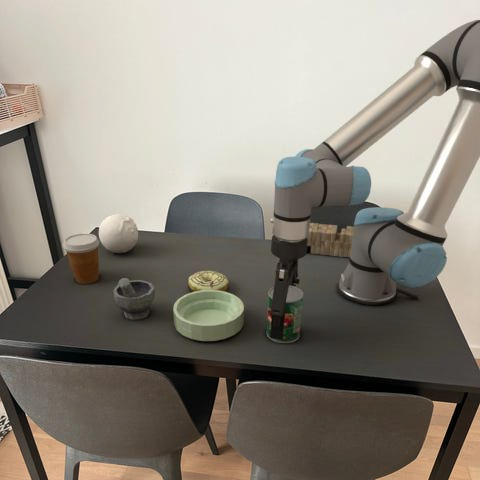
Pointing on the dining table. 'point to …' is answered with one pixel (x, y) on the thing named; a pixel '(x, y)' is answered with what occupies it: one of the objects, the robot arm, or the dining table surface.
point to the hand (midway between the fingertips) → (282, 322)
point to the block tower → (330, 240)
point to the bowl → (208, 315)
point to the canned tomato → (288, 315)
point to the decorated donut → (208, 281)
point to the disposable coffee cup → (83, 256)
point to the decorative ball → (118, 233)
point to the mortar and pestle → (134, 297)
